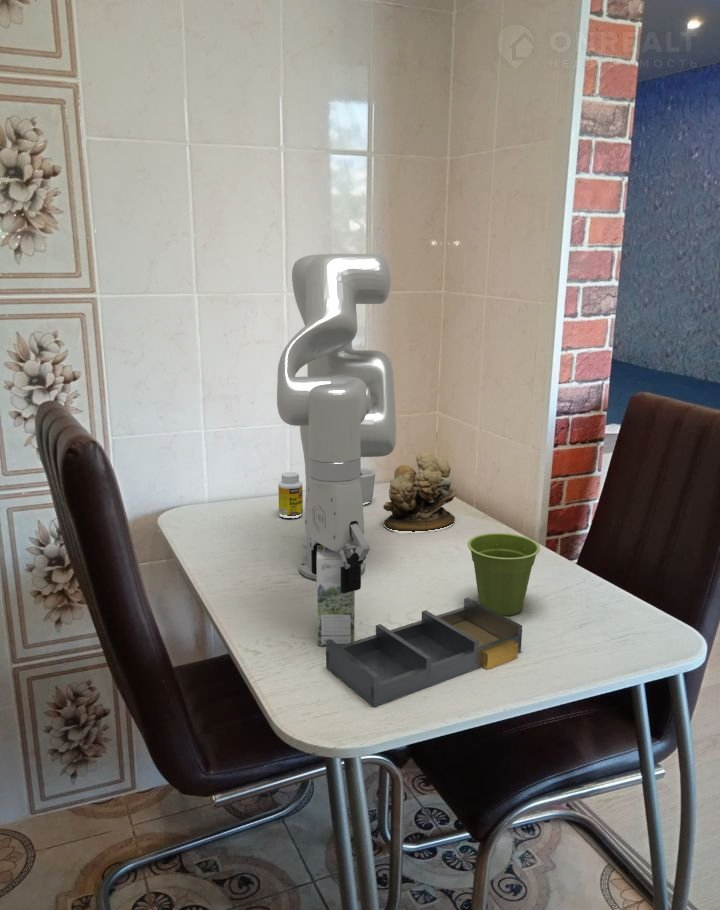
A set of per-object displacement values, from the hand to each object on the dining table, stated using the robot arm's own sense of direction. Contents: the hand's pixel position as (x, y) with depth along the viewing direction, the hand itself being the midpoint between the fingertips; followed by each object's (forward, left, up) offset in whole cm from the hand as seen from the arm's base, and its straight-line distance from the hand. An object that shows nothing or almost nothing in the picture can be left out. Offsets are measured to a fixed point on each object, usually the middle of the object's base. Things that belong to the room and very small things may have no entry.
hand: (335, 580), depth 113 cm
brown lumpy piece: (-36, +45, -10) cm, 59 cm away
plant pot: (+6, +29, -10) cm, 31 cm away
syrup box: (0, 0, -10) cm, 10 cm away
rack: (+13, +7, -10) cm, 18 cm away
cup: (-58, +41, -10) cm, 72 cm away
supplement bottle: (-57, +23, -10) cm, 62 cm away
